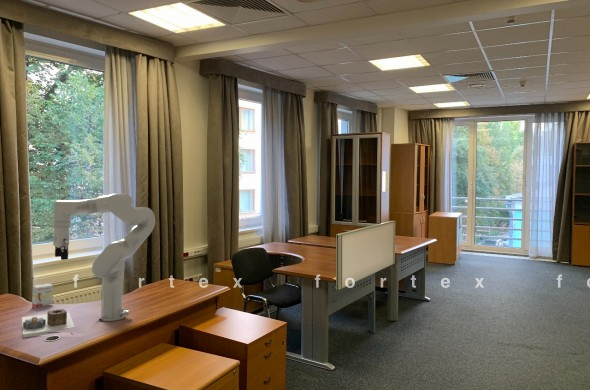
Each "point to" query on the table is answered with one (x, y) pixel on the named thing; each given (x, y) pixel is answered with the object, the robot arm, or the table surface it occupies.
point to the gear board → (42, 325)
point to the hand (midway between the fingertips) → (61, 258)
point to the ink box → (42, 295)
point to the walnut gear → (56, 317)
